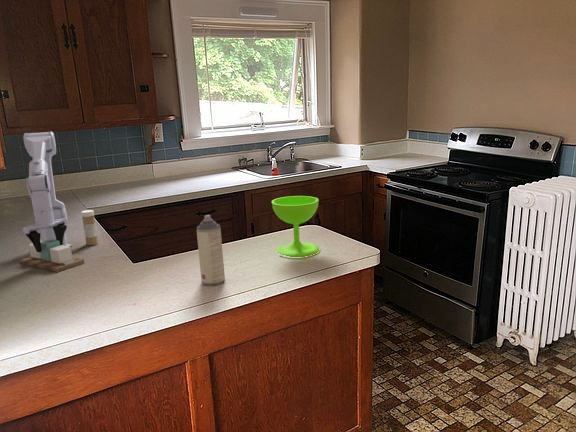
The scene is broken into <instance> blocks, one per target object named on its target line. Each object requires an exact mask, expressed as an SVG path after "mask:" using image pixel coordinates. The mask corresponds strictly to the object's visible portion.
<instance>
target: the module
mask: <svg viewBox="0 0 576 432" xmlns="http://www.w3.org/2000/svg"><path fill="white" fill-rule="evenodd" d="M40 243H41V248H42V252H40V253H41V258H42V259H44V260H48V261H51V255H50V248H54V247H57V246H60V242H59V240H54V239H49V240H45V241H42V242H40Z"/></svg>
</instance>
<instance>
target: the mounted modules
mask: <svg viewBox="0 0 576 432" xmlns="http://www.w3.org/2000/svg"><path fill="white" fill-rule="evenodd" d="M40 242H42V241H41V240H40ZM28 247H29V253H30V255H31V257H35V258H41V253H40V252H36V249H35V247H34V245H33V243H32V242H31V243H30V244H28ZM71 247H72V246H70V247H69V246H64V245H60V246H57V247H54V248H50V255H51V261H52V262H56V263H63V262H66V261H69V260H72V257H73V254H72V249H71Z"/></svg>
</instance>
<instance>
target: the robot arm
mask: <svg viewBox="0 0 576 432" xmlns="http://www.w3.org/2000/svg"><path fill="white" fill-rule="evenodd" d="M23 143H24V147H25V149H26V151H27V153H28V154H29V157H31V158H32V160H30V161H29V163H28V177H26V178H25V180H26V187H27V190H28V194H29V195H28V196H29V197H30V199H31V204H32V210H33V216H34V220H35V223H34V224H31V225H28V226H24V227H22V232H23V234H25V235H26V237H27V238H28V239H29V240H30V242H31V244H32V243H33V245H34V247H35V249H36V252H42V248H41V243H40V241H45V240H49V239H54V240H59V242H60V245H64V246H69V247H73V244H70V243H68V240H67V233H66V231H67V228H68V226H67V224H68V213H67V209H66V205H65V203H64V202H63V201H60V200H58V199H57V197H56V189H55V183H54V176H53V175H54V174H53V167H52V159H53V156H55V155H57V145H56V138H55V133H54V132H53V131H46V132H45V131H44V132H30V133H29V132H24V133H23ZM38 231H39V232H38Z"/></svg>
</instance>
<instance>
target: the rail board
mask: <svg viewBox="0 0 576 432" xmlns="http://www.w3.org/2000/svg"><path fill="white" fill-rule="evenodd" d="M72 260H74V263H71V264H68V265H61V264H57V263H53V262H48V261H44V260H40V259H36V258H31V257H30V256H27V257H25V258H22V259H21V258H20V259H19V262H20V264H23V265H27V266H31V267H36V268H39V269H42V270H47V271H52V272H54V273H55V272H56V273H58V272H59V273H60V272H63V271H65V270H67V269H72V268H74V267H77V266H80V265H83V264H84V263H85V259H83V258H78V257H73V256H72Z"/></svg>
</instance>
